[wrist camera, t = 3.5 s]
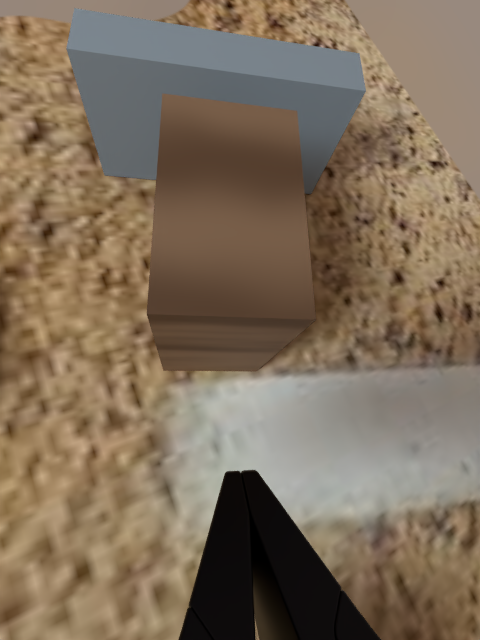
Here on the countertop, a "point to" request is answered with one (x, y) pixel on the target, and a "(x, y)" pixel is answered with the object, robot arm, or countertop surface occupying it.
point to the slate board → (203, 85)
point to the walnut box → (228, 236)
